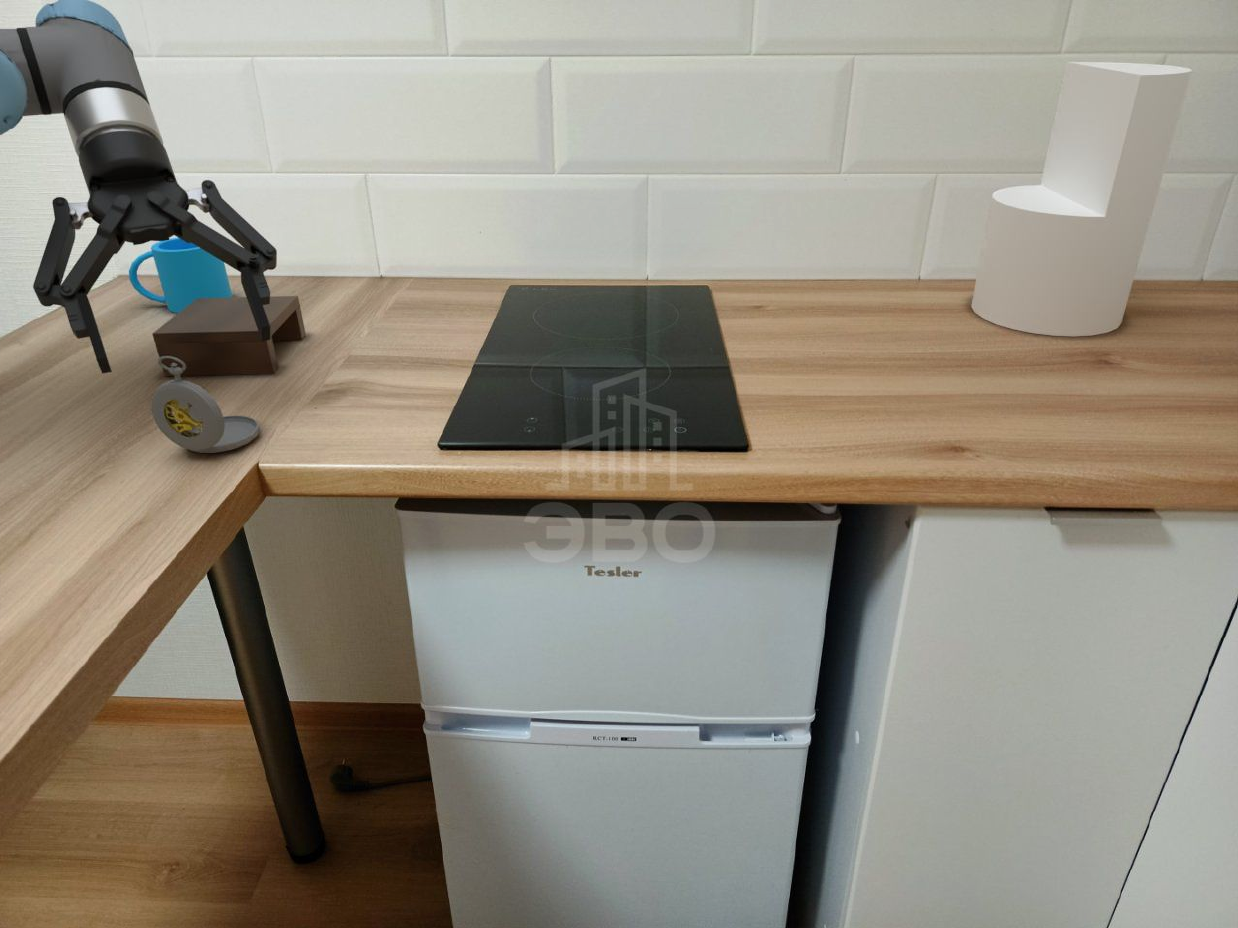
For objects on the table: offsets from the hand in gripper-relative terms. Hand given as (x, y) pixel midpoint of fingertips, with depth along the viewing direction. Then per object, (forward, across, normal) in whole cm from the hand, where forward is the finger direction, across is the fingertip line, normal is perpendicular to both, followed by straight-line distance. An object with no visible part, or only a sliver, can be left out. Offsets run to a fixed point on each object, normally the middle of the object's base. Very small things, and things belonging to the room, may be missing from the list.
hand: (188, 350), depth 78 cm
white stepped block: (+22, -95, +9) cm, 98 cm away
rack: (-8, -6, -20) cm, 23 cm away
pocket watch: (+8, 0, -4) cm, 9 cm away
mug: (-25, -4, -37) cm, 45 cm away
